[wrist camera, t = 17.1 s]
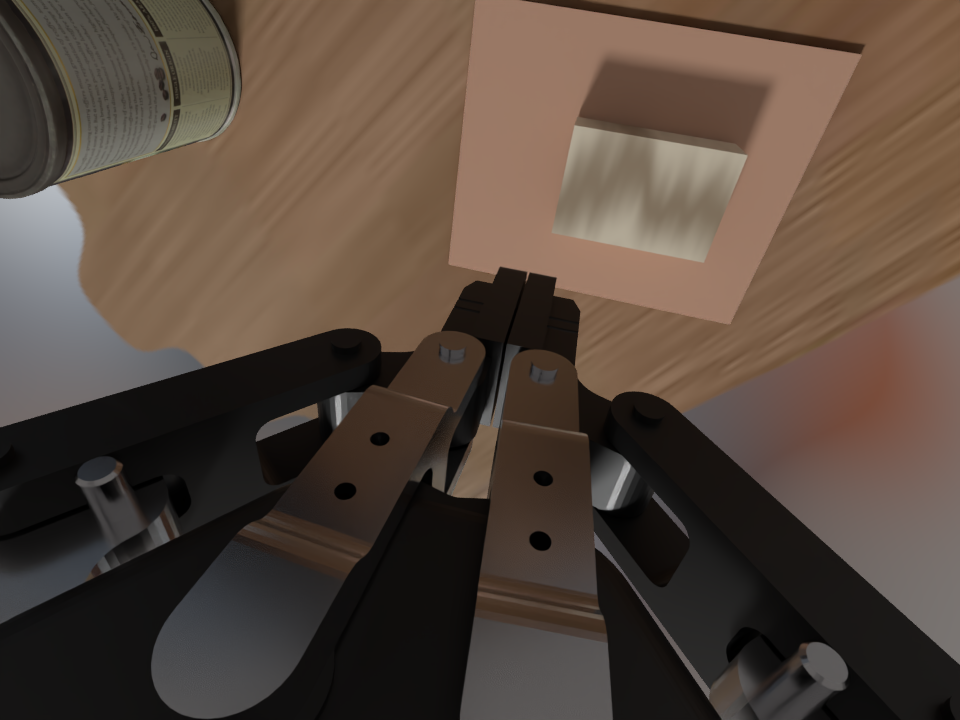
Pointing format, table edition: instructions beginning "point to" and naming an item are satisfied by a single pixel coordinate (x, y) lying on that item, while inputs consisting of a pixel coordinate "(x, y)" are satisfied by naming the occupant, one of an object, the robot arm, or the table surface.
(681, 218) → the beige rectangular block
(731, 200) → the mat
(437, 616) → the robot arm
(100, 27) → the coffee can
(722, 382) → the table surface
